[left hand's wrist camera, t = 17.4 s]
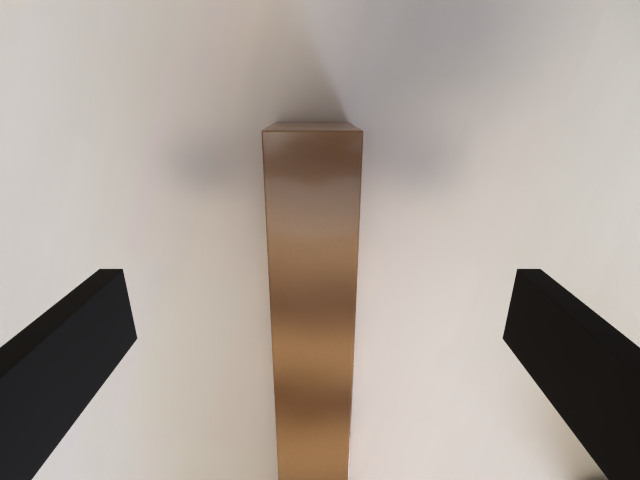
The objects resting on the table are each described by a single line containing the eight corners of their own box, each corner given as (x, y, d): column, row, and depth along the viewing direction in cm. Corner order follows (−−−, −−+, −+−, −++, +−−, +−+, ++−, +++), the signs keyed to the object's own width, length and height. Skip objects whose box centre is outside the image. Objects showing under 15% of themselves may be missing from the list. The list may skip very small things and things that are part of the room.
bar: (275, 122, 27) (261, 130, 20) (349, 122, 28) (363, 130, 20) (292, 596, 47) (288, 688, 40) (335, 595, 47) (339, 687, 40)
